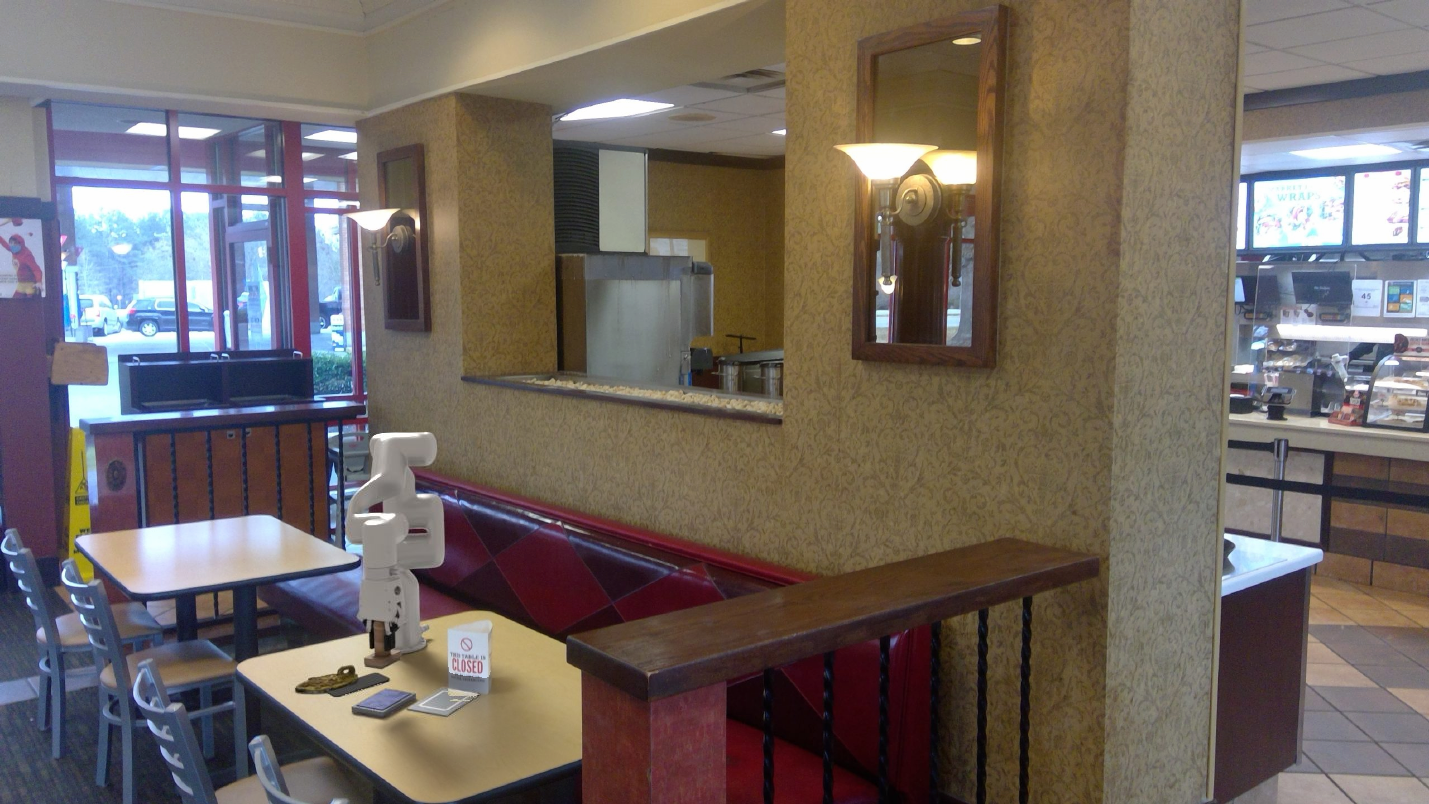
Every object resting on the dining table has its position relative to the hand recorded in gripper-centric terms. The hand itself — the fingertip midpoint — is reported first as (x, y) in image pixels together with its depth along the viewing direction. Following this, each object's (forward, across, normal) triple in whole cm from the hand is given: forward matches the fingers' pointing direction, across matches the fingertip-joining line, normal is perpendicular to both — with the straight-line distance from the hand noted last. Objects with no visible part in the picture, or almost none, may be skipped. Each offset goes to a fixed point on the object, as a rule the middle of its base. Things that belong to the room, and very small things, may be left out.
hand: (382, 647), depth 237 cm
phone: (+15, +15, -8) cm, 23 cm away
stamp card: (+14, -12, -7) cm, 20 cm away
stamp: (+4, 0, 0) cm, 4 cm away
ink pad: (+14, 0, 0) cm, 14 cm away
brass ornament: (+15, +22, -6) cm, 27 cm away
